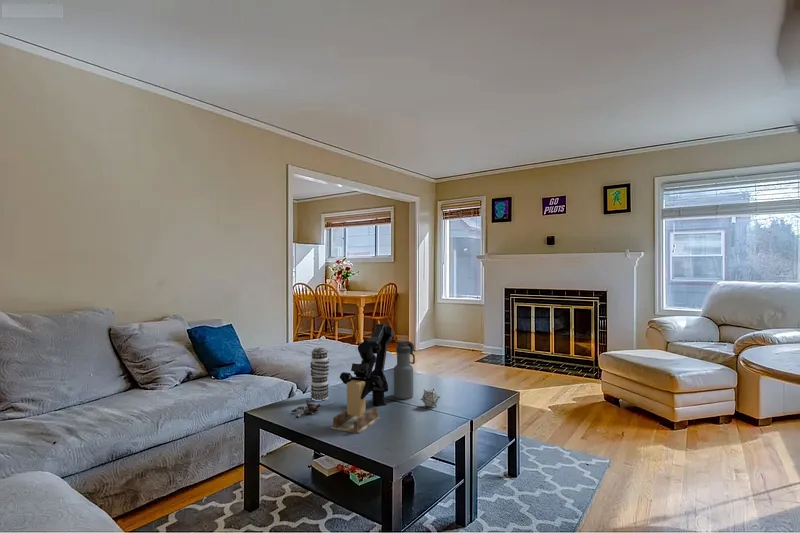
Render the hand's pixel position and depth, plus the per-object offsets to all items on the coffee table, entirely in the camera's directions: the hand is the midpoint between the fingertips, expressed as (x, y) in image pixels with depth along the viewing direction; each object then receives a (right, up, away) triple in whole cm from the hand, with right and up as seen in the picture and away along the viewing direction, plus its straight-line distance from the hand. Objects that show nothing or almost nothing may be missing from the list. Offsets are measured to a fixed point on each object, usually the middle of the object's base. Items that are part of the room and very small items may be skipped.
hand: (354, 398), depth 179 cm
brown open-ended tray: (+1, -11, +1) cm, 11 cm away
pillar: (+1, -7, +1) cm, 7 cm away
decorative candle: (-21, -11, +35) cm, 43 cm away
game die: (+33, -11, +22) cm, 41 cm away
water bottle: (+21, -11, +38) cm, 45 cm away
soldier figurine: (-23, -12, +12) cm, 28 cm away
